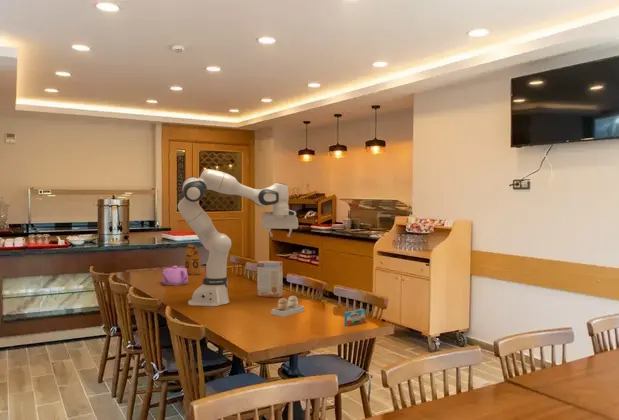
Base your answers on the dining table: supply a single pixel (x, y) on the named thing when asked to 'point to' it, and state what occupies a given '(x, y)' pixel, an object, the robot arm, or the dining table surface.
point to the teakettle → (175, 276)
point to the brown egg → (283, 305)
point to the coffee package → (192, 260)
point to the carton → (287, 313)
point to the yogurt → (354, 317)
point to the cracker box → (269, 279)
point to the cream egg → (293, 302)
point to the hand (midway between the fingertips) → (280, 236)
